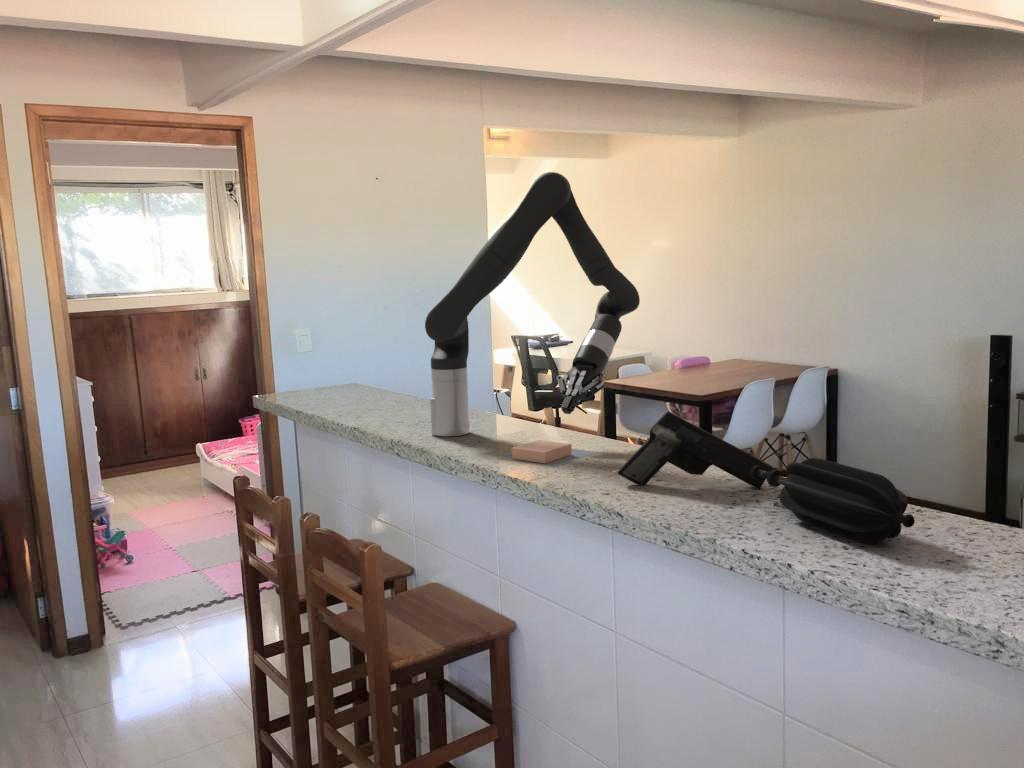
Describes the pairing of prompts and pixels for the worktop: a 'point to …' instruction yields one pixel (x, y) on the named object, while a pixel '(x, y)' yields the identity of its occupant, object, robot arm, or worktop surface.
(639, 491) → the worktop surface
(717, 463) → the handgun
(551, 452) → the tile
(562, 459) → the mat
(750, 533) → the worktop surface
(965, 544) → the worktop surface
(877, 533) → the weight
